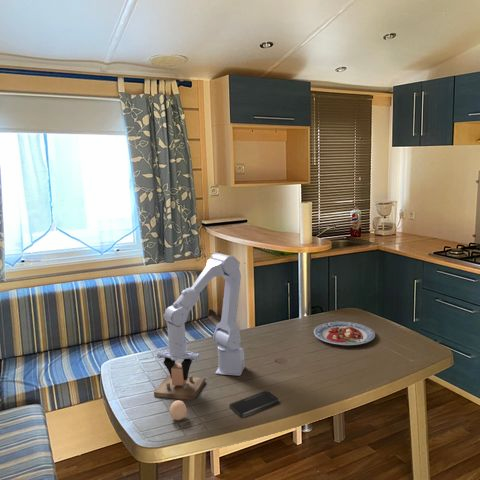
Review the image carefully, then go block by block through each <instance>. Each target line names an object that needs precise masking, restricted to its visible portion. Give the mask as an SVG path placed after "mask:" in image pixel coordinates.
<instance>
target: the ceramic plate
mask: <svg viewBox="0 0 480 480" xmlns="http://www.w3.org/2000/svg"><path fill="white" fill-rule="evenodd" d="M361 334H362V336H363V339H361V338H362V336H361ZM313 335H314V336H315V338H317V339H318V340H320V341H322V342H325V343H329V344H333V345H340V346H359V345H363V344H367V343H369V342H371V341H373V340H374V339H375V337H376V333H375V331H374V330H373V329H372V328H370V327H368V326H366V325H363V324H360V323H356V322H351V321H348V322H347V321H331V322H327V323H322V324H320V325H318V326H316V327H315V328H314V330H313ZM359 340H360V341H359ZM352 341H353V342H352ZM354 341H355V342H354Z"/></svg>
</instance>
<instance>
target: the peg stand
mask: <svg viewBox="0 0 480 480" xmlns="http://www.w3.org/2000/svg"><path fill="white" fill-rule="evenodd" d="M205 383H206V378H205V377H196V376H195V377H194V375H192V374H191V375H188V378H187V381H186V383H185V384H183V386H180V385H172V379H171V376H170V374H167V375H166V377H165V378H164V379H163V380H162V381H161V382H160V384H159V386H158V387H157V388H156V389H155V390H154V391H153V396H154V397H156V398H157V397H158V398H168V399H178V400H189V401H195V399H196V398H197V396H198V394H199V393H200V392H201V389H202V388H203V386H204V384H205Z"/></svg>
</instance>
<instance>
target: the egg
mask: <svg viewBox="0 0 480 480" xmlns="http://www.w3.org/2000/svg"><path fill="white" fill-rule="evenodd" d="M187 412H188V411H187V406H186V404H185V403H184V401H182V400H181V399H178V400H175V401H173V402H172V403H171V405H170V407H169V415H170V417H171V419H173V420H175V421H181V420H183V419H184V418H185V417H186V415H187Z"/></svg>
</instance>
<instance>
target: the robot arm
mask: <svg viewBox="0 0 480 480" xmlns="http://www.w3.org/2000/svg"><path fill="white" fill-rule="evenodd" d="M240 263H241V262H240V261H239V260H238V259H237V258H236V257H235V256H233V255H228V254H224V253H220V252H214V253H213V254H212V255H211V256H210V258H209V259H207V261H206V265H205V267H204V268H203V270H202V271H201V272H200V274H199V275H198V277H197V278H196V279H195V281H194V283H193V284H192V285H191V287H187V288H185V289H183V290H182V291H181V292H180V295H179V297H178V298H177V299H176V300H175V301H173V303H172V305H170V306H168V307H167V308H166V309H165V311H164V314H163V315H162V316H163V317H162V318H163V319H164V320H165V321H166V325H167V326H166V327H167V337H168V338H167V339H168V350H158V352H156V358H157V359H159V360H160V359H164V361H163V365H164V366H165V367H166V369H167V371H168V373H169V375H170V376H171V379H172V374H171V368H172V367H173V366H174V364H175V363H176V361H177V360H182V362H181V365H182V368H183V377H184V380H187V378H188V377H189V371H190V368H191V364H192V363H193V361H195V362H198V361H199V360H200V353H198V352H197V353H196V352H193V351H189V350H187V342H186V340H187V339H186V327H185V325H186V324H185V323H186V322H187V321H188V318H189V317H188V316H189V313H190V311H191V310H192V309H193V307H195V305H196V304H197V302H198V301H199V299H200V293H201V292H202V291H203V290H204V289H205V288H206V286H207V285H208V284H209V283H210V282H211V281H212V280H213V279H214V278H215V277H221V276H222V277H223V278H224V280H225V281H224V283H225V284H224V291H223V299H222V306H221V307H222V309H221V317H220V318H221V319H220V321H219V322H218V323H217V324H216V327H215V330H214V332H213V337H212V339H213V341H214V342H215V343H216V347H217V360H218V363H217V364H218V366H217V369H216V370H215V375H224V376H226V375H227V376H236V377H237V376H239V377H240V376H241V375H242V373H243V371H244V369H245V367H246V365H245V349H244V348H242V347H240V346H241V342H242V338H241V335H240V333H241V329H240V327H239V326H238V324H237V315H238V307H239V306H238V305H239V298H240V297H239V296H240V289H241V279H242V274H241V270H240Z"/></svg>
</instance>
